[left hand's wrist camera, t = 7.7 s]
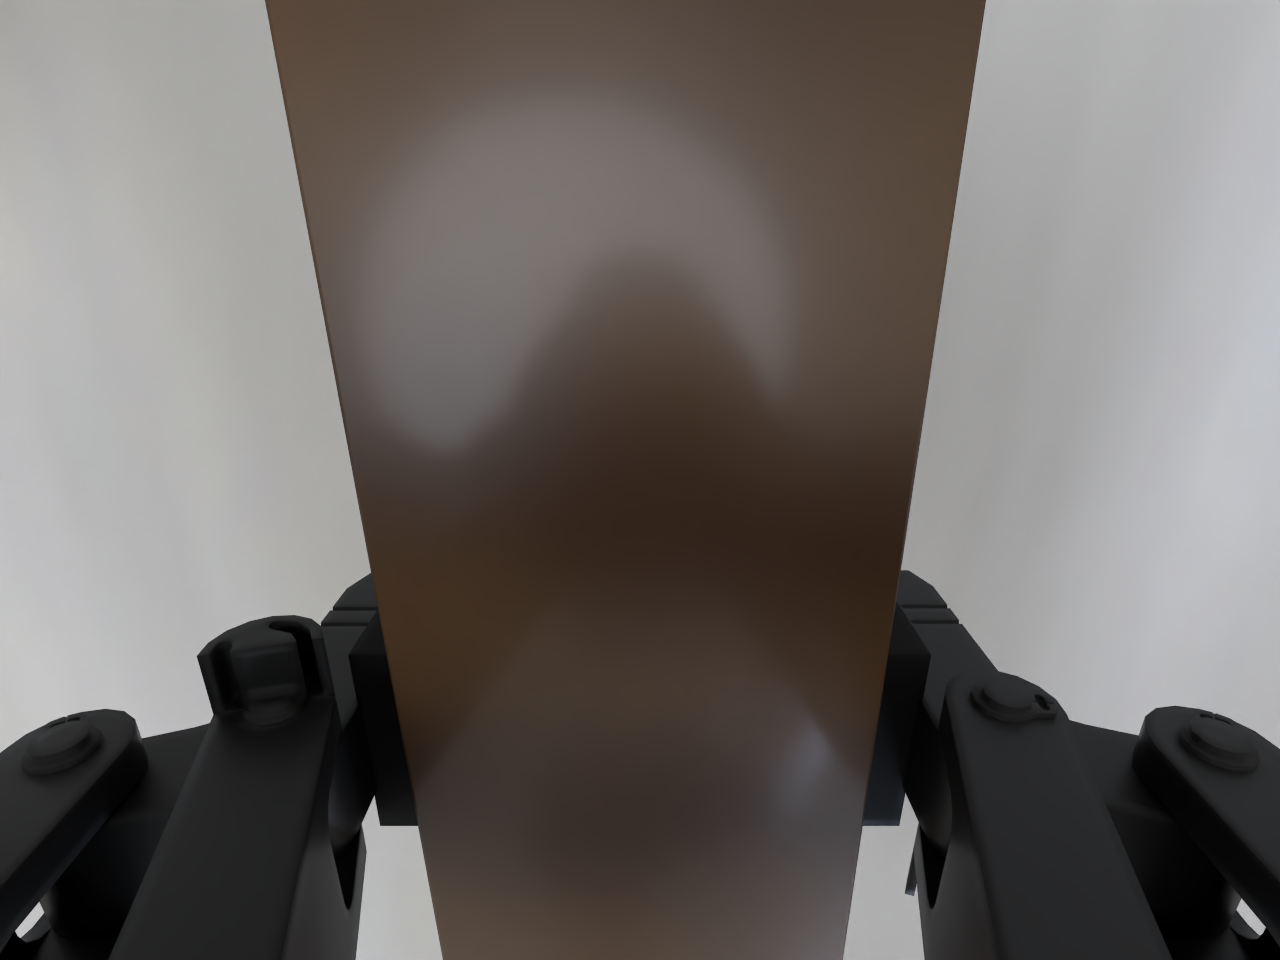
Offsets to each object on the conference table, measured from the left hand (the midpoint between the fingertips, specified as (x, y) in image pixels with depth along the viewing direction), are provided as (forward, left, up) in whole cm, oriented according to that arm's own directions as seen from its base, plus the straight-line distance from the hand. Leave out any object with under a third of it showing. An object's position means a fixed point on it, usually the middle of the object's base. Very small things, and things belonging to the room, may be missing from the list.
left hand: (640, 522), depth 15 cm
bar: (+14, -15, -1) cm, 21 cm away
